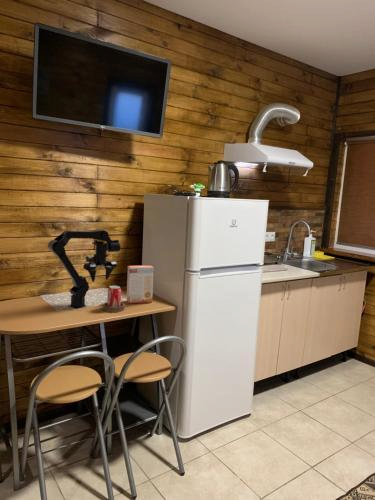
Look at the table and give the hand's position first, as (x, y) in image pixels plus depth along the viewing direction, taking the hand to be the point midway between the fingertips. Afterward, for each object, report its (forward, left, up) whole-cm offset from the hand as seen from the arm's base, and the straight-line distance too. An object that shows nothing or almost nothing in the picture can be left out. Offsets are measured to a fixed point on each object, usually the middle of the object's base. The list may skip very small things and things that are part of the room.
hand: (100, 280), depth 210 cm
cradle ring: (0, -13, -13) cm, 18 cm away
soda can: (0, -12, -13) cm, 18 cm away
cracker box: (+20, -11, -13) cm, 26 cm away
